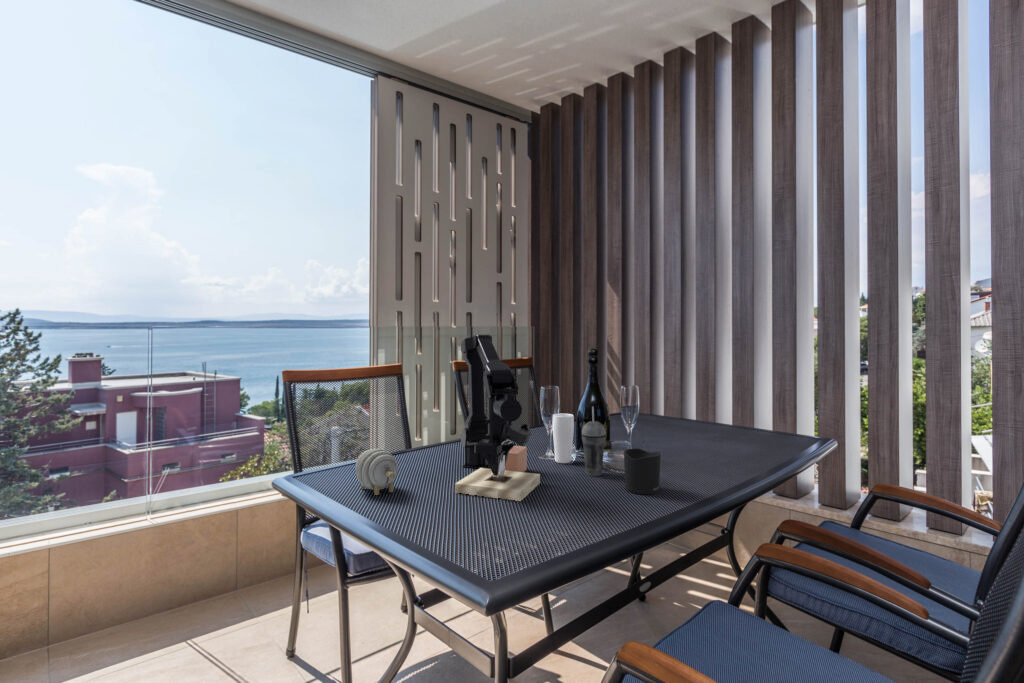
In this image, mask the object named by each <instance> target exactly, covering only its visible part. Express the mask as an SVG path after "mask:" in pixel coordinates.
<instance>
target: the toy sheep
mask: <svg viewBox="0 0 1024 683" xmlns="http://www.w3.org/2000/svg"><path fill="white" fill-rule="evenodd" d="M354 466H355V474H356V478H357V480H358V481H359V483H360V484H361V485H360V487H361V488H362V489H361V490H365V489H364V488H366V489H368V490H373V493H374V496H375V495H380V491H381V490H383V489H385V488H387V487H388V493H390V492H392V493H393V492H394V481H395V479H396V477H397V475H398V471H399V466H398V461H397V460H396V457H395V456H394V455H393V454H392V453H391V452H389V451H388V450H386V449H383V448H371V449H367V450H365V451H363V452H362V453H361V454H359V456H358V457H357V460H356V462H355V465H354Z"/></svg>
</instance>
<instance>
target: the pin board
mask: <svg viewBox="0 0 1024 683" xmlns="http://www.w3.org/2000/svg"><path fill="white" fill-rule="evenodd" d="M540 483H541V473H535V472H534V473H533V472H526V471H524V472H516V471H506V470H505V481H504V482H499V481H493V473H492V471H491V469H490V468H487V467H483V468H477V469H476V470H474V471H473V472H471V473H469V474H468V475H466V476H465V477H463V478H461V479H460V480H458V481H457V482H455V483H454V493H455V494H459V493H462V494H461V495H466V494H469V496H474V495H477V496H476V497H482V496H484V497H485V498H490V497H491V499H498V498H501V499H500V500H506V499H507V500H506V501H508V500H509V501H513V500H515V502H521V501H523V499H524V498H526V497H527V496H528V495H529V494H530V493H531V492H532V491H533V490H534V489H536V488H537V486H539V485H540ZM484 497H483V498H484Z"/></svg>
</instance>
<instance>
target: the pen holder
mask: <svg viewBox="0 0 1024 683" xmlns="http://www.w3.org/2000/svg"><path fill="white" fill-rule="evenodd" d="M661 458H662V457H661V452H660V451H655V452H650V451H646V450H643V449H642V448H627V449H625V450H624V451H623V462H624V465H623V466H624V467H623V471H624V487H625V490H626V489H627V490H628V491H627V490H626V491H627V492H629V491H630V492H629V493H631V492H633V493H632V494H635V493H638V494H637V495H641V494H650V495H654V493H655V494H656V492H657V493H658V492H659V490H660V476H661V472H660V471H661Z"/></svg>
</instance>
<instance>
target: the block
mask: <svg viewBox="0 0 1024 683" xmlns="http://www.w3.org/2000/svg"><path fill="white" fill-rule="evenodd" d="M527 450H528V447H527V446H520V445H515V446H514V447H513V448H512V449H511V450H510V451H509V454H508V458H507V461H506V465H505V470H506V471H516V472H526V471H527V469H528V466H527V465H528V461H527V460H528V457H527V452H528V451H527Z"/></svg>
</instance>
